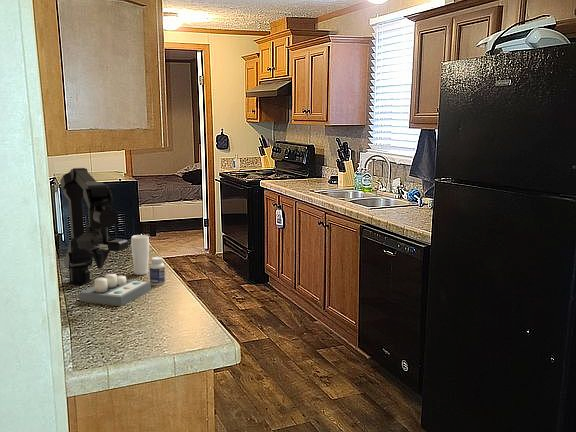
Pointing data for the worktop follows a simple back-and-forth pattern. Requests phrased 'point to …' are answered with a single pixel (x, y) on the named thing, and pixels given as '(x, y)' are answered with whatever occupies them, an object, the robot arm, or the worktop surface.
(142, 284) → the button board
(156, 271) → the pill bottle
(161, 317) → the worktop surface
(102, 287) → the button
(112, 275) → the button
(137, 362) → the worktop surface
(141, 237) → the white tall cylinder
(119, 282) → the button
